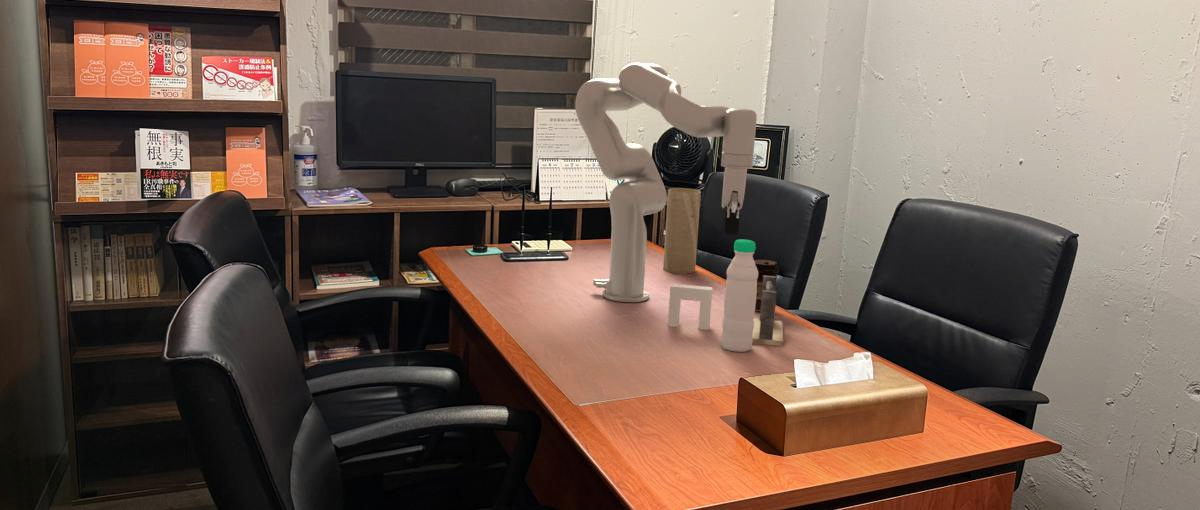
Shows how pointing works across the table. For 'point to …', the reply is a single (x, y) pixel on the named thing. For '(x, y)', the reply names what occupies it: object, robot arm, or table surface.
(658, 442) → the table surface
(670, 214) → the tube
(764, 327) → the hook stand
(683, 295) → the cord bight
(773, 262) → the coffee cup
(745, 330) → the water bottle
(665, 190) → the robot arm
